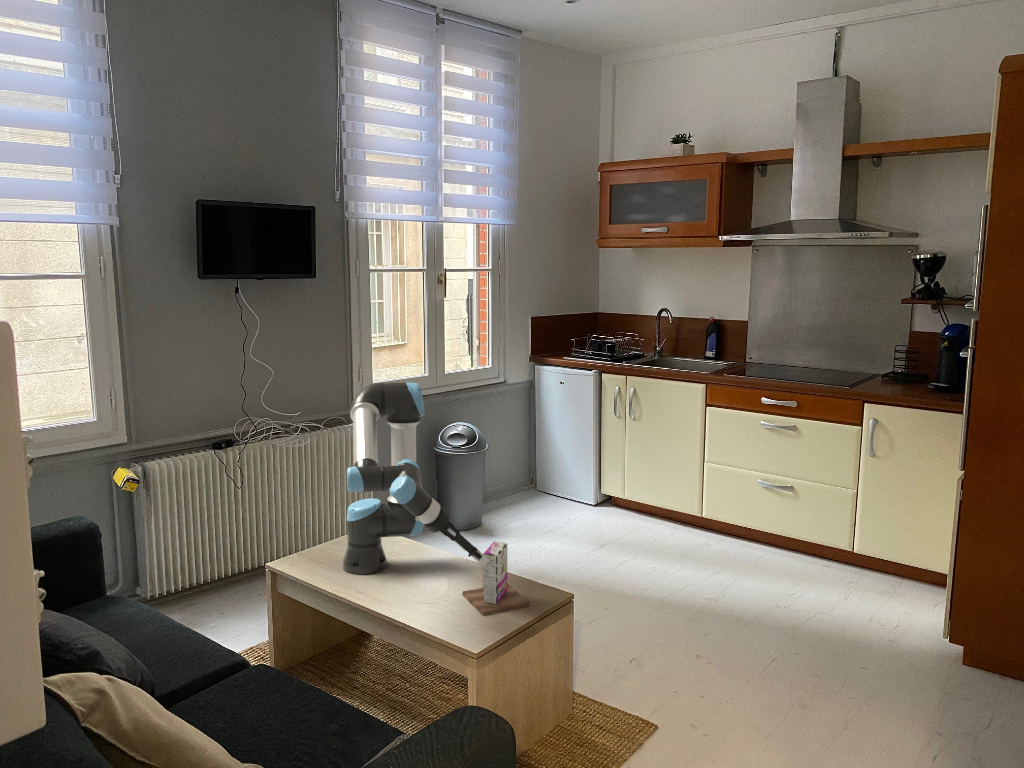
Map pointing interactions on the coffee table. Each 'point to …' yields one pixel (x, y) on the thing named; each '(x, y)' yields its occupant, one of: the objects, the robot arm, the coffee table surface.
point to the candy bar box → (495, 573)
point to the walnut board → (506, 603)
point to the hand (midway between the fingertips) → (476, 555)
